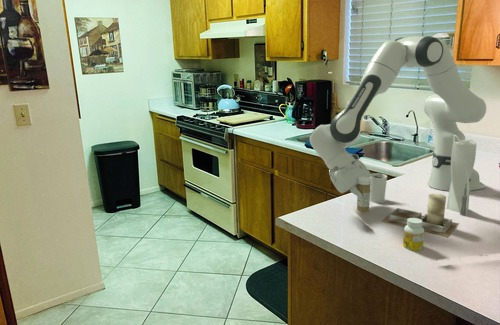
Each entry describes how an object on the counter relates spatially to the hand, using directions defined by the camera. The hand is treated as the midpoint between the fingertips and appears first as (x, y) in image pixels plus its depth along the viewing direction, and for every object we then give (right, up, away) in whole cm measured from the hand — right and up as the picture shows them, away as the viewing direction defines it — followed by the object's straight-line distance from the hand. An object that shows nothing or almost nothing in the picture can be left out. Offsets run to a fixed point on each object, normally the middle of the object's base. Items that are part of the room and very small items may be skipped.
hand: (365, 195), depth 143 cm
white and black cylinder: (+9, -3, +15) cm, 18 cm away
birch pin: (+18, -9, -13) cm, 24 cm away
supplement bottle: (+6, -14, -26) cm, 31 cm away
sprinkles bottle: (0, -7, +2) cm, 7 cm away
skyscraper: (+32, -7, 0) cm, 33 cm away
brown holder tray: (+15, -10, -10) cm, 20 cm away
